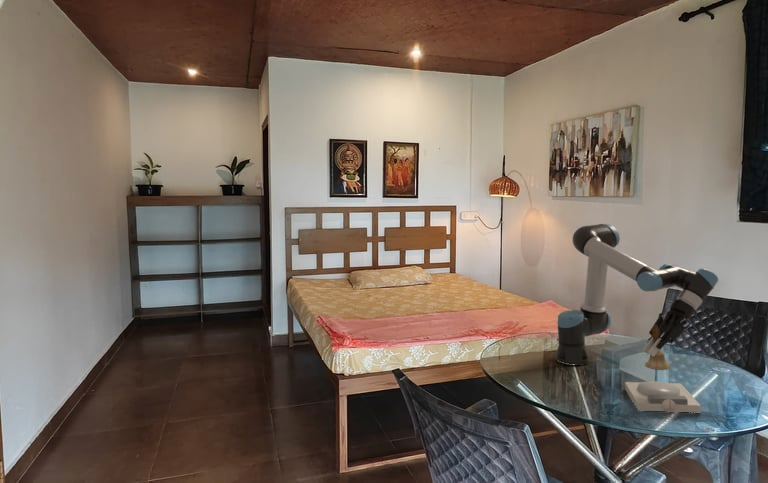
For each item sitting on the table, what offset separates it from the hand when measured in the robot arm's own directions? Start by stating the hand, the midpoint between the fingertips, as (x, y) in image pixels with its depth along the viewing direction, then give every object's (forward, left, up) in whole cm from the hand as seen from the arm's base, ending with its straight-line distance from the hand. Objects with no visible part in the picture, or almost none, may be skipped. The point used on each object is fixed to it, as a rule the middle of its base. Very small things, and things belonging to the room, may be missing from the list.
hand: (648, 353), depth 180 cm
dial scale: (+4, 0, -18) cm, 19 cm away
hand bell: (+4, +2, -6) cm, 7 cm away
